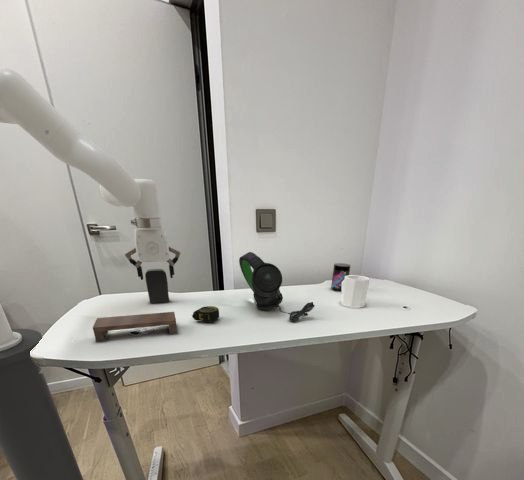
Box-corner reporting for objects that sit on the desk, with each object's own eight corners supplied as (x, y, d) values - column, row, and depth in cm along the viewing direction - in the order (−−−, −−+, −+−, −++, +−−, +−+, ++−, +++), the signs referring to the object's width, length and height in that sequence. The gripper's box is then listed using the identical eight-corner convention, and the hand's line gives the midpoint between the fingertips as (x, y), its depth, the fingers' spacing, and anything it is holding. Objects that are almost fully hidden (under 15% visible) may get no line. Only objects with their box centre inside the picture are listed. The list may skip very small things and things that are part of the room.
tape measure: (205, 315, 93) (204, 303, 91) (223, 318, 91) (223, 307, 89) (192, 322, 87) (191, 310, 86) (211, 326, 85) (210, 314, 83)
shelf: (96, 342, 74) (92, 327, 72) (100, 331, 80) (96, 317, 78) (177, 333, 80) (175, 320, 78) (175, 324, 85) (174, 311, 84)
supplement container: (327, 288, 126) (330, 263, 121) (340, 287, 128) (344, 262, 124) (336, 292, 120) (340, 266, 116) (349, 291, 123) (354, 266, 118)
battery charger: (169, 299, 106) (165, 267, 101) (170, 302, 103) (166, 270, 98) (149, 300, 104) (144, 268, 99) (149, 304, 101) (144, 270, 96)
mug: (369, 306, 105) (374, 279, 100) (348, 308, 102) (353, 281, 98) (349, 297, 115) (354, 272, 110) (330, 298, 112) (334, 273, 108)
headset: (282, 341, 97) (236, 284, 108) (314, 320, 99) (267, 266, 110) (280, 314, 80) (227, 250, 91) (319, 289, 82) (263, 229, 93)
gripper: (117, 225, 86) (129, 282, 94) (177, 224, 91) (183, 279, 99) (120, 223, 92) (130, 277, 100) (176, 222, 97) (181, 274, 105)
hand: (157, 278), depth 100 cm, fingers open, 9 cm apart
